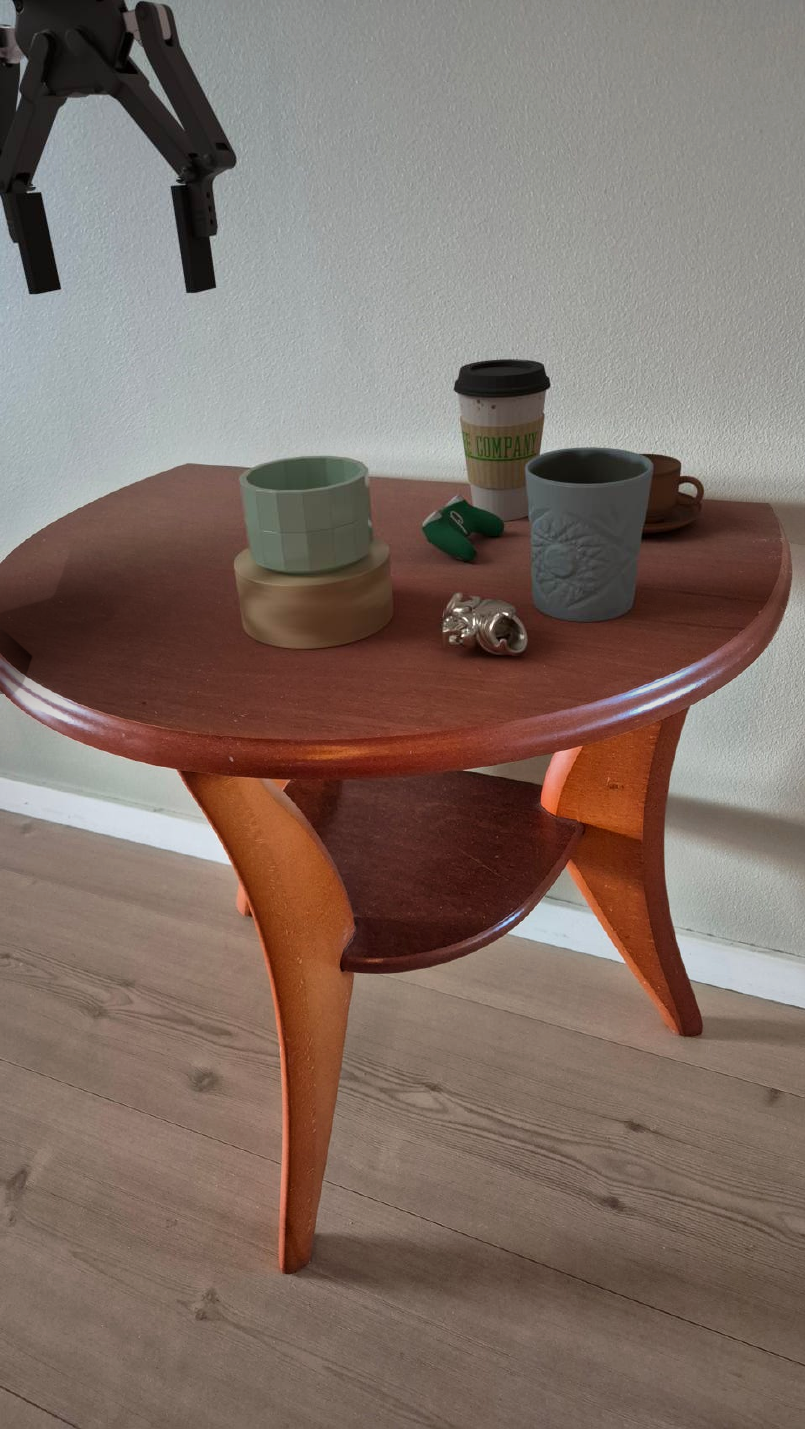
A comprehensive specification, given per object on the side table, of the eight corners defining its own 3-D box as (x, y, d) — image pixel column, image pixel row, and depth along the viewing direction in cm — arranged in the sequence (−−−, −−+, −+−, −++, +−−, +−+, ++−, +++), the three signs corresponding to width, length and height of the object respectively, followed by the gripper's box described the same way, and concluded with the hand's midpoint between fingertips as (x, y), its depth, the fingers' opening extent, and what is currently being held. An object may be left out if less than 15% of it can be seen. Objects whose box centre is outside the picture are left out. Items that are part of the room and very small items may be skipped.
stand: (215, 615, 86) (205, 556, 84) (337, 576, 93) (332, 519, 90) (294, 664, 77) (287, 599, 75) (424, 616, 84) (421, 555, 81)
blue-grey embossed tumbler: (618, 575, 90) (626, 442, 84) (662, 619, 81) (675, 474, 75) (510, 587, 88) (510, 453, 82) (543, 634, 80) (546, 488, 74)
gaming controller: (486, 548, 102) (447, 505, 102) (511, 525, 100) (470, 481, 100) (451, 580, 95) (408, 534, 95) (476, 556, 93) (433, 509, 93)
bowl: (228, 556, 83) (216, 474, 80) (328, 527, 89) (321, 449, 85) (293, 589, 76) (283, 501, 73) (397, 555, 82) (392, 471, 78)
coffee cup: (439, 518, 106) (434, 373, 99) (486, 493, 113) (484, 355, 106) (520, 532, 101) (521, 380, 94) (564, 504, 108) (568, 361, 100)
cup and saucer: (695, 505, 105) (700, 447, 102) (704, 544, 95) (711, 481, 92) (581, 504, 108) (583, 447, 105) (578, 542, 97) (580, 481, 94)
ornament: (413, 641, 80) (411, 599, 78) (480, 618, 83) (479, 577, 81) (475, 676, 74) (475, 632, 72) (544, 649, 77) (545, 606, 75)
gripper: (261, -101, 59) (298, 282, 70) (-56, -48, 68) (19, 286, 78) (193, -126, 53) (245, 297, 64) (-145, -64, 62) (-51, 299, 73)
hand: (121, 292), depth 71 cm, fingers open, 13 cm apart
